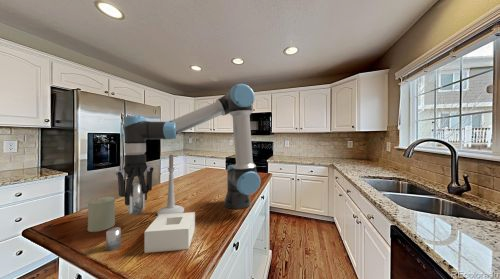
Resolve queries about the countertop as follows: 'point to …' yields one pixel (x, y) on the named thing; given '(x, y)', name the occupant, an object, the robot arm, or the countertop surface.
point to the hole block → (170, 232)
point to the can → (101, 214)
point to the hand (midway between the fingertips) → (136, 210)
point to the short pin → (113, 238)
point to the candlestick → (171, 194)
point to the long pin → (136, 198)
